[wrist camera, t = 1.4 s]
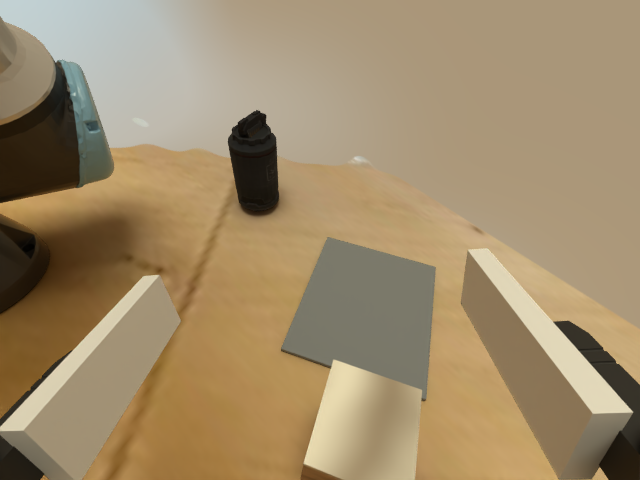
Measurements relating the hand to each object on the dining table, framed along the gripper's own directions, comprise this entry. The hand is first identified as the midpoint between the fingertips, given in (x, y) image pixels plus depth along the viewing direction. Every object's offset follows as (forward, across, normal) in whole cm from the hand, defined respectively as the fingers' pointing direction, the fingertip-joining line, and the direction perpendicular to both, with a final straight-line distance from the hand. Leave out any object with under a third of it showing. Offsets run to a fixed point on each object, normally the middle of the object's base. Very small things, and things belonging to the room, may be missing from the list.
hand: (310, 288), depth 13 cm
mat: (+19, +3, -18) cm, 27 cm away
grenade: (+36, -12, -9) cm, 39 cm away
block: (+4, 0, -23) cm, 23 cm away
